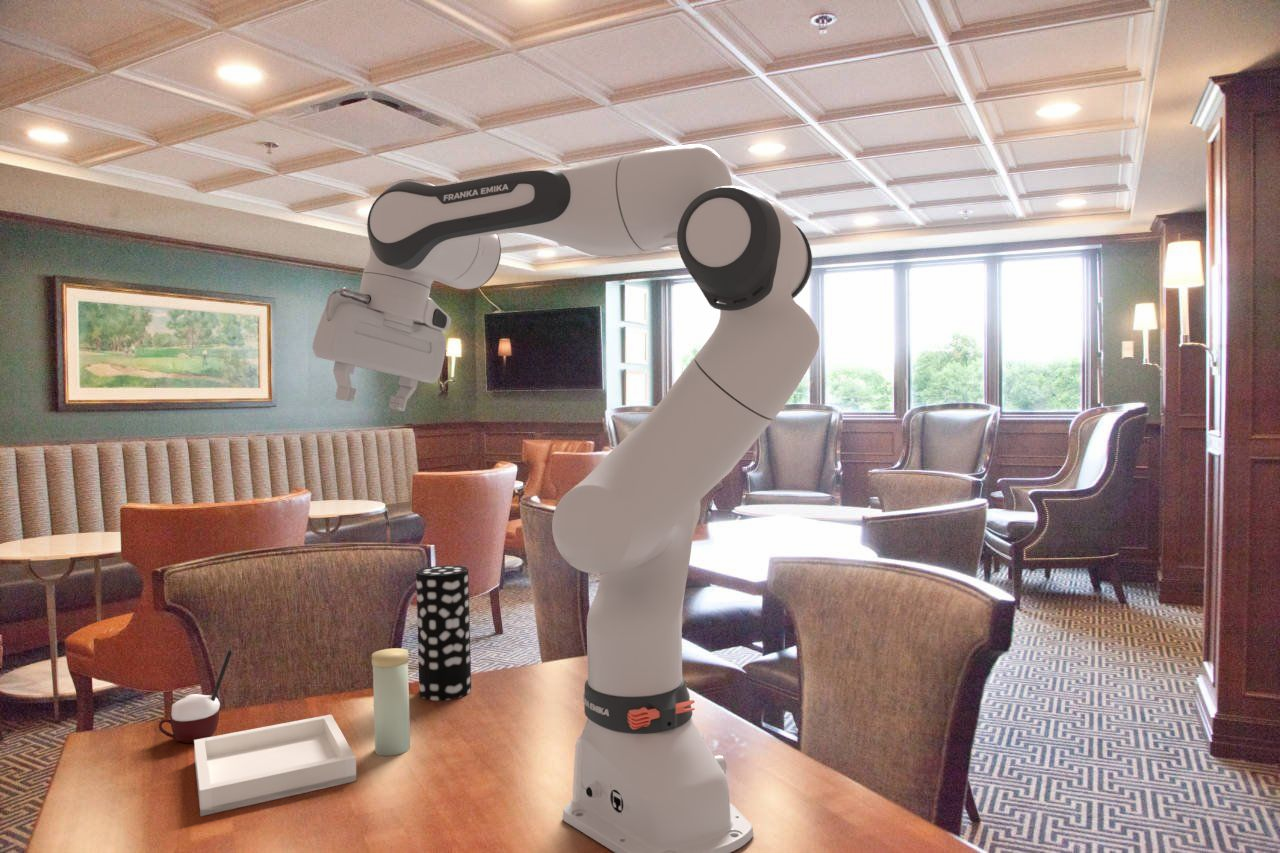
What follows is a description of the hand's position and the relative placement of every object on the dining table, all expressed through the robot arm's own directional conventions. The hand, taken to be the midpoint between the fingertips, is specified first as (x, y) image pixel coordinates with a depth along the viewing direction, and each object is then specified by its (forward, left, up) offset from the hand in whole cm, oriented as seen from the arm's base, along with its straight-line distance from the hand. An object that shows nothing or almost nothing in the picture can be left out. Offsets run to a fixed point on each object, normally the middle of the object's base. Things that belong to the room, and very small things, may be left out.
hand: (371, 405), depth 113 cm
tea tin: (+2, -2, -47) cm, 47 cm away
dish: (+3, +13, -47) cm, 49 cm away
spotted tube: (+21, -15, -47) cm, 54 cm away
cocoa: (+21, +21, -47) cm, 56 cm away
